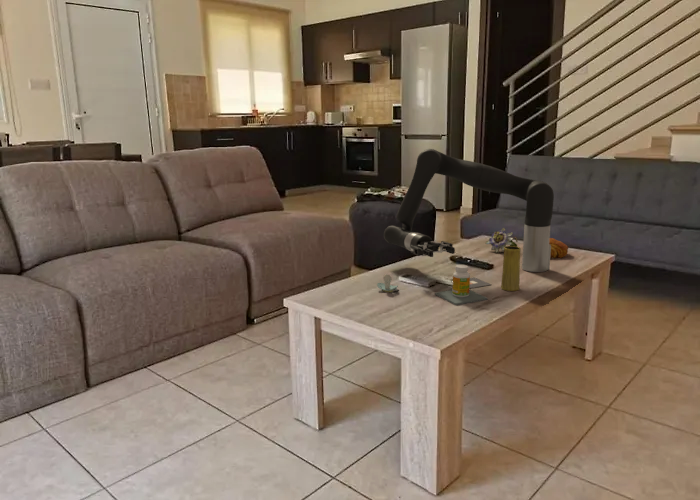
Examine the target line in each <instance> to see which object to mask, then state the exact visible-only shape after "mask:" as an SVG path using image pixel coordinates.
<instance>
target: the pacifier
mask: <svg viewBox="0 0 700 500" xmlns="http://www.w3.org/2000/svg"><path fill="white" fill-rule="evenodd" d="M382 278H383V282H384V283H383V282H378V283H377V284H376V287H377V288H378V289H380V290H381V291H383V292H386V293H392V292H397V291H399V290H400V289H399V287H398V285H392V284H391V282H392V275H390V274H388V273H385V274H384V275H383V277H382Z"/></svg>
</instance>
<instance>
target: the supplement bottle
mask: <svg viewBox="0 0 700 500" xmlns="http://www.w3.org/2000/svg"><path fill="white" fill-rule="evenodd" d="M454 269H455V271H453V274H452V281H453V282H452V289H451V290H452V294H453V295H454V296H456V297H467V296H469V290H470V289H469V288H470V278H471V274H470V272H469V266H468V265H466V264H456V265H455V268H454Z"/></svg>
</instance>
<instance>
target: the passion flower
mask: <svg viewBox="0 0 700 500" xmlns="http://www.w3.org/2000/svg"><path fill="white" fill-rule="evenodd" d="M512 236H513V232H506V229H505V227H503V228H501V230H496V231H494V232H493V231H492V233H491V234H490V237H489V239H488V241H485V245H491V251H493V250H494V251H495V252H494V253H495V254H497V253H498V252H499V251H500V249H501V251H503V252H504V247H506V246H517V247H518V244H517V242H519V241H518V238H517V237H516V236H515V237H512ZM514 239H515V241H516V242H515V241H513V240H514Z"/></svg>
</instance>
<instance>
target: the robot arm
mask: <svg viewBox="0 0 700 500" xmlns="http://www.w3.org/2000/svg"><path fill="white" fill-rule="evenodd" d="M414 169H415V170H414V173H413V176H412V179H411V182H410V185H409V187H408V189H407V191H406V192H405V194H404V197H403V199H402V202H401V203H400V206H399V208H398V210H397V213H396V215H395V217H396V220H397V221H398V222H400V223H402V227H400V226H397V225H388V226H387V227H386V228H385V229H384V231H383V238H384V241H385V242H386V243H388V244H391V245H396V246H398V247H401V248H403V249H405V250H408V251H410V253H411V254H413V255H416V256H418V257H420V256H421V257H430V258H434V253H438V254H440V253H441V254H442V253H443V252H445V253H449V254H451V255H452V254H453V255H454V254H455V252H456V251H455V250H456V249H455V247H453V245H454V244H453V243H452V242H451V243H450V242H448V241H444V240H442V241H440V242H438V241H435V240H433V238H432V237H430V236H429V235H426V234H423V233H420V232H414V231H413V224H414V221H415V218H416V216H417V213H418V211H419V209H420V207H421V204H422V201H423V198H424V196H425V192H426V190H427V188H428V186H429V184H430V182H431V181H432V179H433V178H434V176H435V175H436V174H437V175H441V176H446V177H449V178H452V179H455V180H457V181H458V182H460V183H463V184H464V185H467V186H469V187H472V188H474V189H479V190H482V191H485V192H489V193H495V194H504V195H510V196H513V197H516V198H519V199H520V200H522V201H526V206H525V207H526V209H525V216H524V222H523V223H524V225H523V226H524V227H523V243H522V244H523V245H522V260H521V269H522V270H524V271H525V272H526V271H527V272H531V273H543V272H546V271H548V270H550V266H551V265H550V264H551V258H550V254H551V245H550V244H549V239H550V238H551V223H552V219H553V213H554V212H553V211H554V195H555V194H554V190H553V187H552V186H550V184H548V183H547V182H545V181H543V180H536V179H531V178H525V177H521V176H517V175H514V174H512V173H509V172H507V171H504V170H502V169H499V168H497V167H494V166H491V165H487V164H483V163H482V162H481V163H480V162H476V161H471V160H465V159H461V158H456V157H453V156H451V155H448V154H445V153H443V152H441V151H439V150H437V149H434V148H427V149H424V150H423V151H421V152H420V153H419V154H418V156H417V159H416V165H415V168H414Z"/></svg>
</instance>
